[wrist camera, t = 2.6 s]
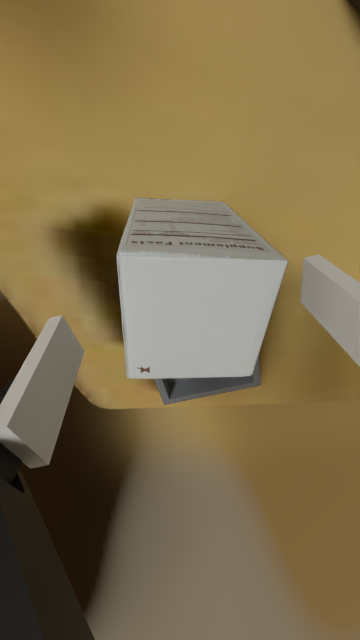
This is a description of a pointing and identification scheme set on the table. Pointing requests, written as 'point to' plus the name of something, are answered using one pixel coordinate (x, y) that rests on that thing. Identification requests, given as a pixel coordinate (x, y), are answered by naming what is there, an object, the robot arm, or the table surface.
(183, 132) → the table surface
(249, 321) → the supplement box
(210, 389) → the charcoal tray
